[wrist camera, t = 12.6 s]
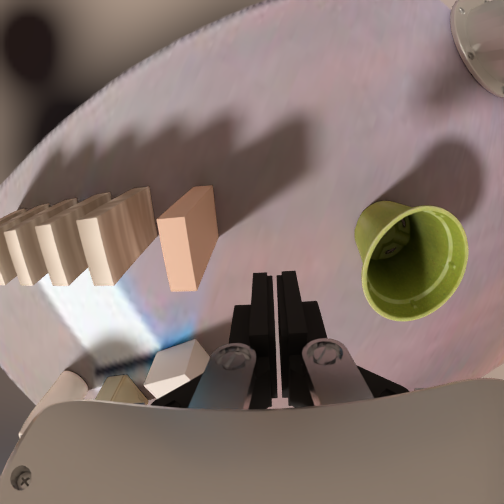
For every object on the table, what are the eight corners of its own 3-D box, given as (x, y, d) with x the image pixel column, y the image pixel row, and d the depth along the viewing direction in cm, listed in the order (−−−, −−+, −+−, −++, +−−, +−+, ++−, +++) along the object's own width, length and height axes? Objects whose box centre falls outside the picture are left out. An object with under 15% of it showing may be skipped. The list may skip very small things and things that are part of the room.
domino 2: (76, 197, 27) (15, 229, 18) (86, 241, 29) (33, 285, 20) (64, 200, 27) (3, 232, 18) (74, 242, 29) (20, 285, 20)
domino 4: (149, 186, 27) (96, 217, 18) (157, 235, 29) (114, 285, 20) (132, 188, 27) (76, 220, 18) (141, 237, 29) (94, 285, 20)
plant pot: (320, 212, 27) (342, 248, 19) (403, 166, 25) (453, 184, 17) (359, 287, 30) (384, 339, 22) (432, 245, 28) (475, 284, 20)
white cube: (157, 351, 35) (142, 385, 29) (195, 337, 34) (184, 373, 28) (184, 382, 37) (174, 415, 31) (222, 371, 36) (215, 407, 30)
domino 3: (110, 191, 27) (50, 224, 18) (119, 238, 29) (68, 285, 20) (95, 194, 27) (34, 226, 18) (105, 240, 29) (52, 285, 20)
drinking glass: (96, 399, 41) (63, 467, 27) (64, 386, 41) (28, 449, 27) (89, 373, 38) (48, 447, 24) (54, 360, 38) (11, 426, 24)
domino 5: (212, 185, 27) (184, 216, 17) (218, 236, 28) (197, 290, 19) (193, 186, 27) (156, 219, 17) (200, 238, 29) (171, 291, 19)
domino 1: (48, 203, 28) (-12, 234, 18) (58, 244, 30) (5, 285, 20) (38, 205, 28) (-21, 236, 19) (48, 245, 30) (-5, 284, 21)
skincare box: (149, 400, 39) (127, 465, 28) (128, 402, 40) (104, 463, 29) (126, 372, 37) (95, 439, 26) (104, 375, 38) (73, 437, 27)
